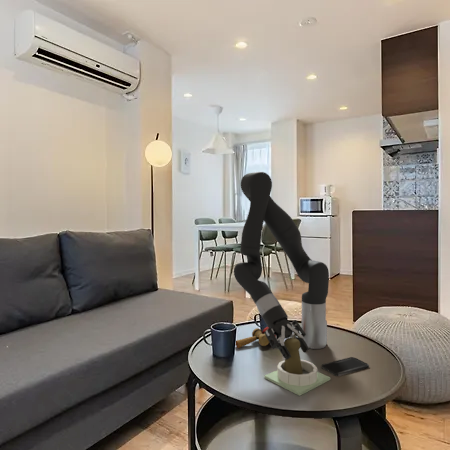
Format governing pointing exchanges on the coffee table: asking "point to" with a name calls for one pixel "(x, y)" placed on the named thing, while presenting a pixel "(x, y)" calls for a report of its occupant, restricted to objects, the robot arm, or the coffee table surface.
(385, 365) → the coffee table surface
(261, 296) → the robot arm
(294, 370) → the cork
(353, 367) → the phone
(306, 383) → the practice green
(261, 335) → the kendama
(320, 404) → the coffee table surface
